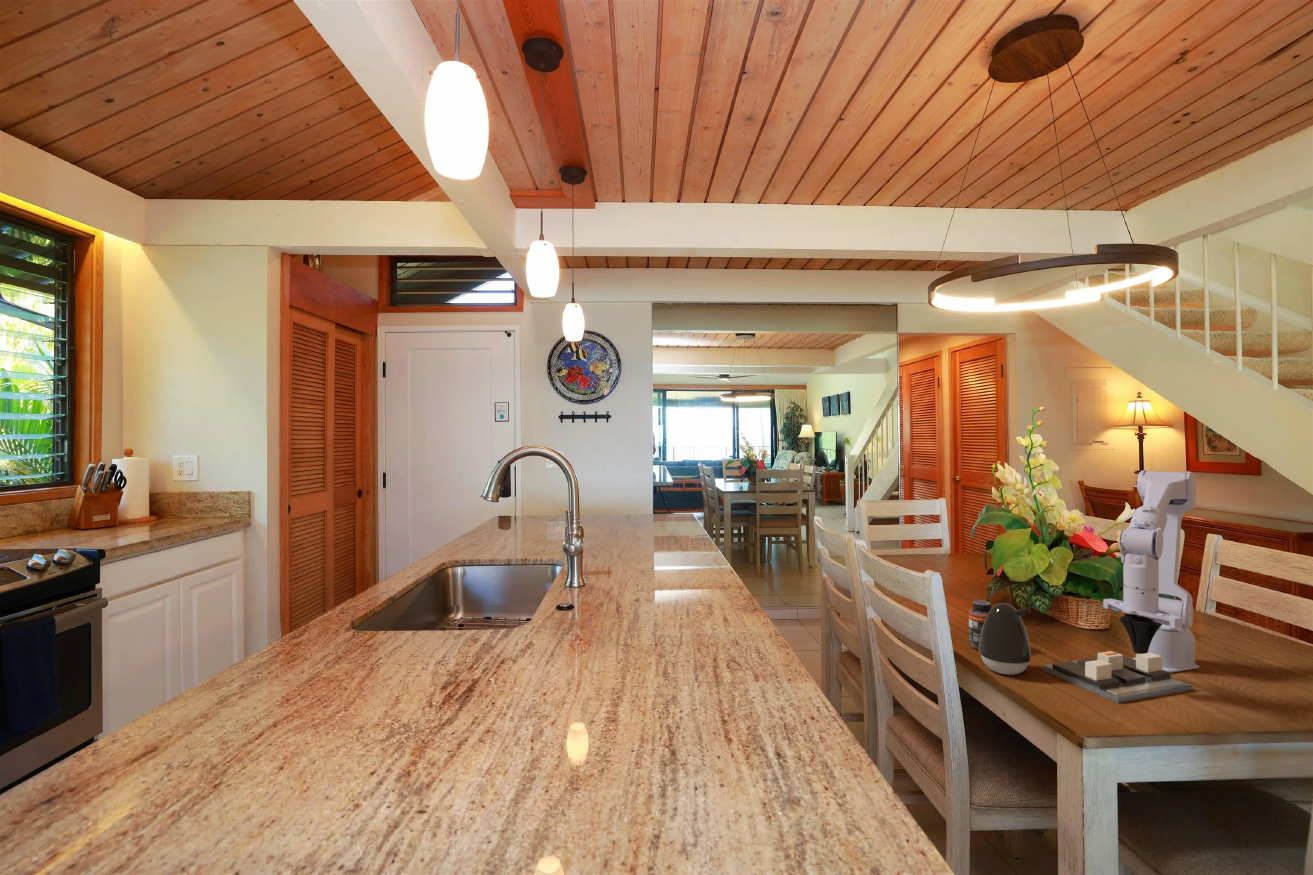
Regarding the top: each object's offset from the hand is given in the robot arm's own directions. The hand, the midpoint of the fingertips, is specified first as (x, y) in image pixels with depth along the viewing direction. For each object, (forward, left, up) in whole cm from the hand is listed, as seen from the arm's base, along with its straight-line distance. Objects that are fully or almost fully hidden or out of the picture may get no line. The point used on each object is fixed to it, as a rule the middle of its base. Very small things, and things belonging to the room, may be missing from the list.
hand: (1140, 652), depth 127 cm
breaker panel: (0, -6, -8) cm, 10 cm away
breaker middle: (0, -7, -6) cm, 9 cm away
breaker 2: (-7, -4, -6) cm, 10 cm away
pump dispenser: (+18, -17, -8) cm, 26 cm away
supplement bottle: (+12, -30, -8) cm, 33 cm away
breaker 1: (+7, -4, -6) cm, 10 cm away
